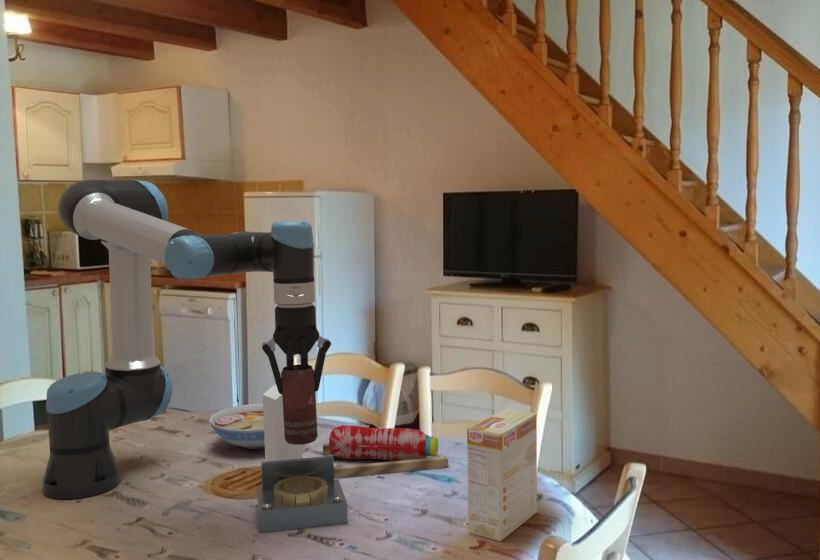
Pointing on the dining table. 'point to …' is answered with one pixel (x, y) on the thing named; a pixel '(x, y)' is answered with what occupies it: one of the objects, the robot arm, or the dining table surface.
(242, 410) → the ramen bowl
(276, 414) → the milk
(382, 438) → the water bottle
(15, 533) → the dining table surface
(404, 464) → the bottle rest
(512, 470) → the coffeecake box
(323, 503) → the bolted ring bracket
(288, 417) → the can
